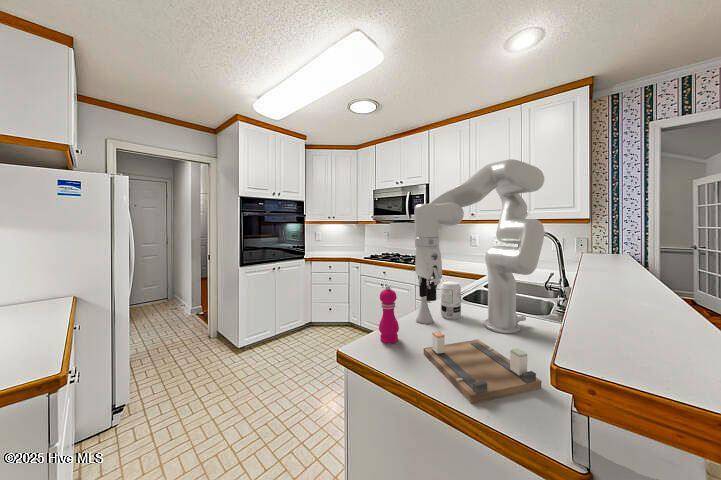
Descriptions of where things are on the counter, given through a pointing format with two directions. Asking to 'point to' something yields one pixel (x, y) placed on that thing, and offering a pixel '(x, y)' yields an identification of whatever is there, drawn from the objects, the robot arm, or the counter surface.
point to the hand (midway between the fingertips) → (427, 297)
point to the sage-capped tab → (518, 361)
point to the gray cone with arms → (424, 313)
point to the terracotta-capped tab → (438, 342)
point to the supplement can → (450, 299)
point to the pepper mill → (388, 317)
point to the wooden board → (480, 371)
